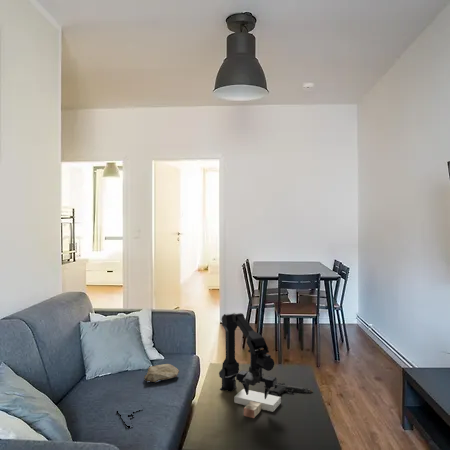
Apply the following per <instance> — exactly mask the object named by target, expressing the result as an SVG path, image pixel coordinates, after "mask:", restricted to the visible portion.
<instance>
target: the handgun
mask: <svg viewBox="0 0 450 450" xmlns="http://www.w3.org/2000/svg"><path fill="white" fill-rule="evenodd" d="M283 393H290V394H293V393H302V394H304V393H306V394H311V393H313V389H310V388H309V387H300V386H295V385H288V384H286V383H285V382H282V383H280V382H279V383H278V382H277V384H276V385H275V386H274V388H273V389H270V390H269V393H268V394H269V395H274V396H278V397H281V394H283Z"/></svg>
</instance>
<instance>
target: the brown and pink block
mask: <svg viewBox="0 0 450 450" xmlns="http://www.w3.org/2000/svg"><path fill="white" fill-rule="evenodd" d="M261 411H262V409H261V403H257V402H252V401H251V402H250V403H249V404H248V405H247V406H246V405H245V406H244V407H243V417H247V418H251V419H255V417H256V416H257V415H259V414H260V412H261Z"/></svg>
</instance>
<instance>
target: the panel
mask: <svg viewBox="0 0 450 450" xmlns="http://www.w3.org/2000/svg"><path fill="white" fill-rule="evenodd" d="M264 396H265V392H260V391H255V390H251V389H249V392H248V395H246V392H245V389H244V388H243V389H241V390H240V391H239V392H238V393H237V394H236V395H234V398H233V399H234V403H235V404H239V405H243V406H245V407H246V406H247V405H248V404H249V403H250V402H251V401H252V402H257V403H261V410H263V411H267V412H275V410H276V409H277V408H278V407H279V406H280V405H281V404H282V403H281V402H282V399H281V398H282V397H281V396H280V397H278V396H274V395H269V393H268V395H267V398H266V399H265V397H264Z"/></svg>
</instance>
